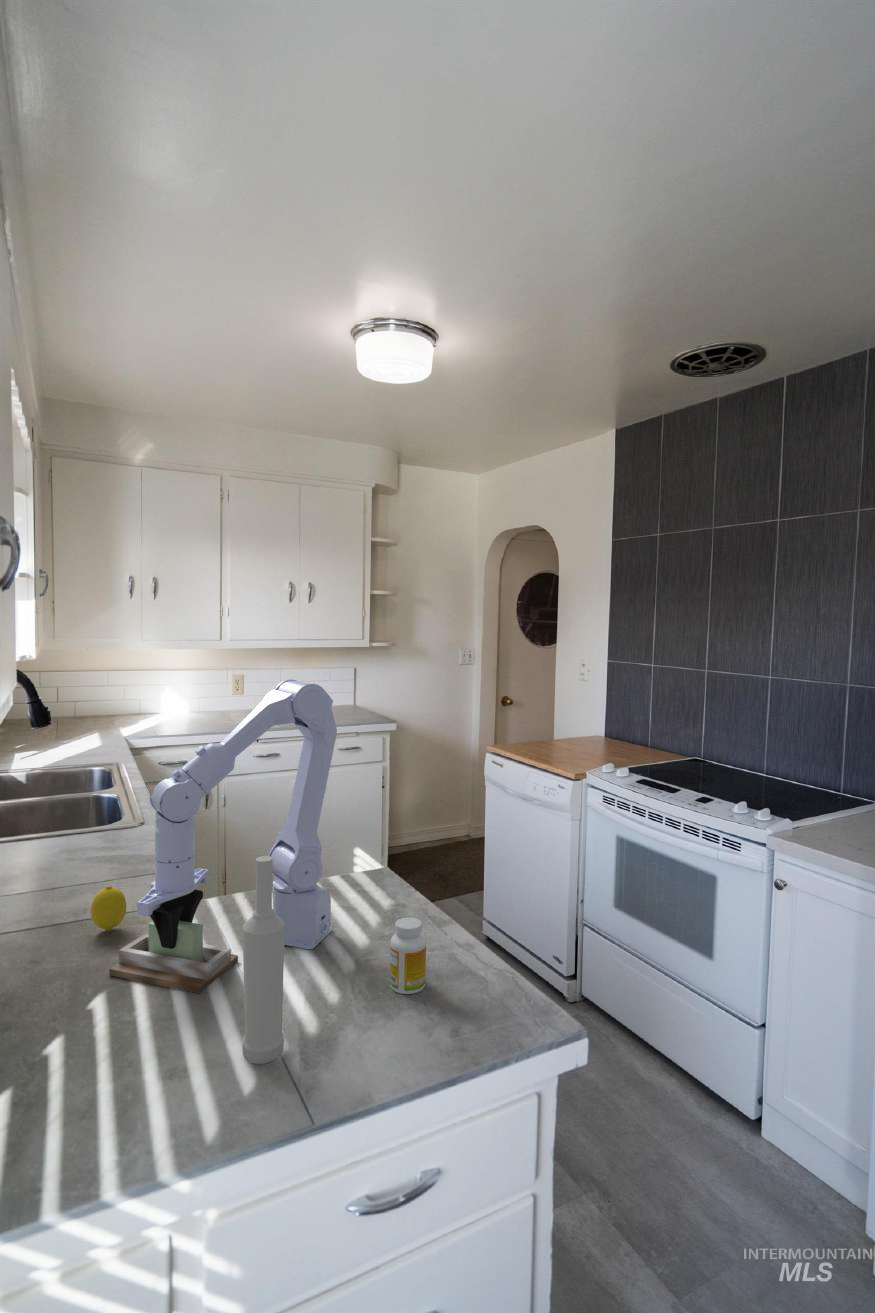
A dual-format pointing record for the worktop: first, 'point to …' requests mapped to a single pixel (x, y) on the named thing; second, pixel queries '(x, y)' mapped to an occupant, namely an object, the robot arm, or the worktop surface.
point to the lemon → (108, 908)
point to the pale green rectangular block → (180, 942)
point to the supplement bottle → (408, 957)
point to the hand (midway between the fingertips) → (175, 942)
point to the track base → (172, 966)
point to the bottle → (263, 973)
